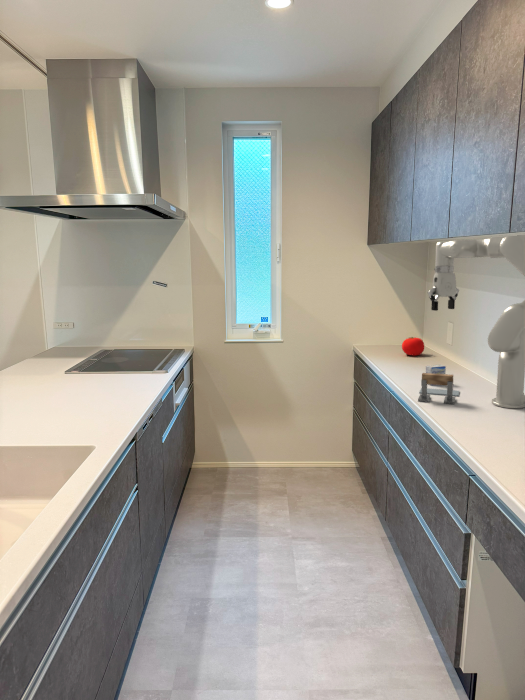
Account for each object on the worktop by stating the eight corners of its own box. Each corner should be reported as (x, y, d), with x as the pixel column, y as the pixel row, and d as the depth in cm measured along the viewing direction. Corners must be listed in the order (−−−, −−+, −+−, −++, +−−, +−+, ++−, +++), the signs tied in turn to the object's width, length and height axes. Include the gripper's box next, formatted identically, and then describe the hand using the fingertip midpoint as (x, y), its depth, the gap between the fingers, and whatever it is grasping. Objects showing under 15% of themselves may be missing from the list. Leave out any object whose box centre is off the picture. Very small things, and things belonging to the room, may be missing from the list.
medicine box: (430, 385, 223) (431, 367, 221) (425, 383, 227) (425, 365, 226) (445, 384, 225) (446, 366, 223) (439, 382, 229) (440, 364, 228)
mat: (459, 391, 211) (459, 390, 211) (458, 396, 204) (458, 395, 203) (421, 388, 217) (421, 387, 217) (419, 393, 210) (419, 392, 210)
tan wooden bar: (453, 384, 196) (453, 374, 196) (452, 385, 194) (453, 376, 193) (422, 382, 201) (422, 372, 201) (421, 383, 199) (421, 374, 198)
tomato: (426, 356, 290) (427, 338, 288) (403, 357, 291) (404, 338, 289) (421, 353, 302) (421, 335, 300) (399, 353, 303) (399, 335, 301)
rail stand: (455, 399, 199) (456, 378, 198) (454, 404, 192) (455, 382, 191) (420, 396, 205) (420, 376, 204) (418, 401, 198) (418, 380, 196)
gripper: (435, 270, 200) (434, 311, 203) (465, 269, 207) (464, 309, 210) (422, 270, 207) (421, 310, 210) (452, 269, 214) (450, 307, 217)
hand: (442, 309), depth 210 cm, fingers open, 9 cm apart
